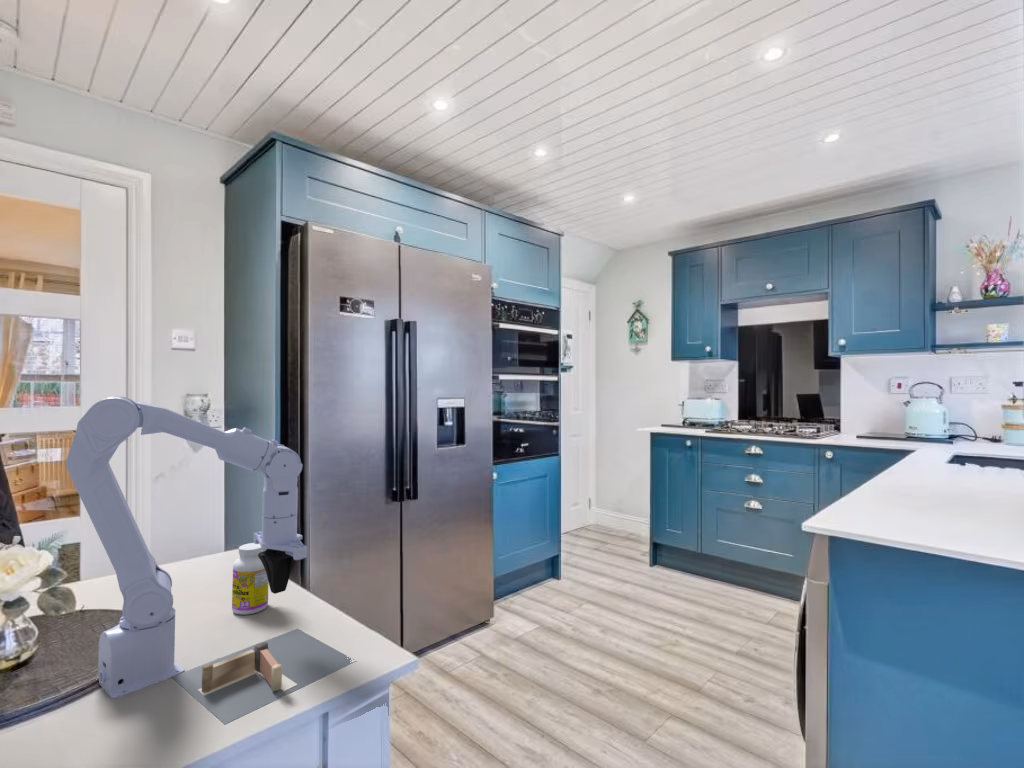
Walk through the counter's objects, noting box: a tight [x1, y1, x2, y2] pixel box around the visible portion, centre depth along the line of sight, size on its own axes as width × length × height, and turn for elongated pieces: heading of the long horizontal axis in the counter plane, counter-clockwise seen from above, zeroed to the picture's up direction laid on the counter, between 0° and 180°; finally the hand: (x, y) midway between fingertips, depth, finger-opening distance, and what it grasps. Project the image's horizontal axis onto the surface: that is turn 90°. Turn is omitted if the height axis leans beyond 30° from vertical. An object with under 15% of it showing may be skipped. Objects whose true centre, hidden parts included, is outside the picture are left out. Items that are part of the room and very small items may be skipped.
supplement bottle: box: [231, 542, 269, 616], centre depth 107 cm, size 7×7×13 cm
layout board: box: [171, 628, 355, 725], centre depth 84 cm, size 21×18×1 cm
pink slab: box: [260, 649, 282, 691], centre depth 81 cm, size 8×1×3 cm, turn 41°
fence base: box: [202, 641, 268, 692], centre depth 81 cm, size 10×2×4 cm, turn 143°
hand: (278, 591), depth 93 cm, fingers closed
